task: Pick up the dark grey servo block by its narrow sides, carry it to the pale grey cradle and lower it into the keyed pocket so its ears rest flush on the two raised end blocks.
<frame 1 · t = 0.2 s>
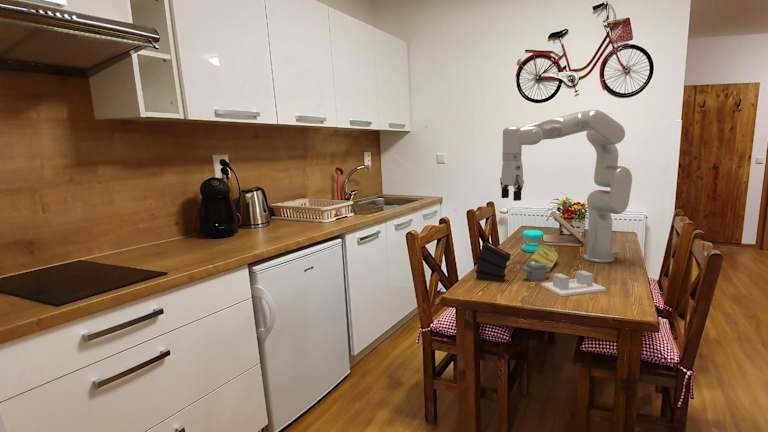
hand: (511, 199, 173), 31 cm above the table, tool pointing down, fingers open, 9 cm apart
case: (561, 242, 224), on the table
black ridged block: (493, 279, 166), on the table
cradle: (572, 288, 152), on the table
plastic component: (542, 266, 182), on the table
servo: (535, 279, 164), on the table
cyan spool: (532, 251, 207), on the table
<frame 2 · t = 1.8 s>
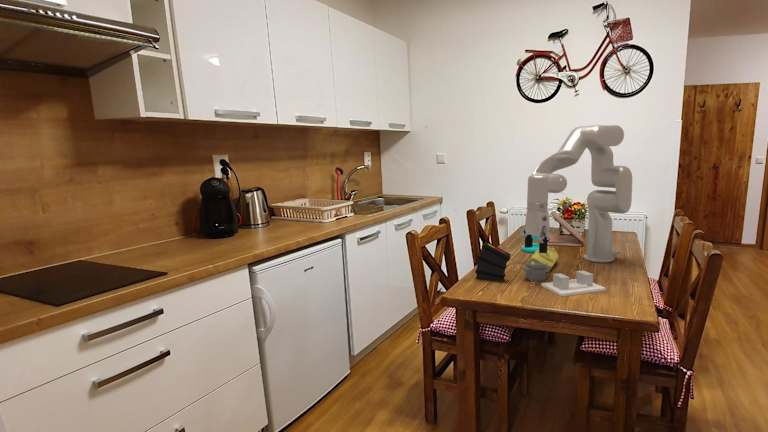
hand: (535, 250, 162), 12 cm above the table, tool pointing down, fingers open, 9 cm apart
nothing on the table moved.
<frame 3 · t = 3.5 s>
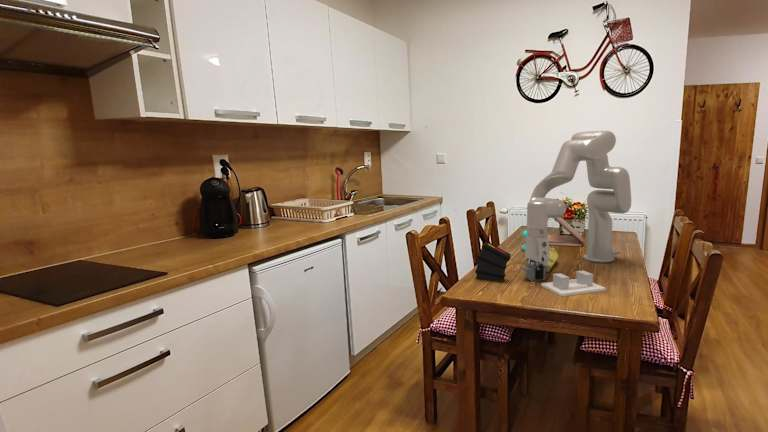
hand: (535, 276, 164), 1 cm above the table, tool pointing down, fingers closed on servo, 4 cm apart
servo: (535, 278, 164), on the table, touching gripper
everything else where it was.
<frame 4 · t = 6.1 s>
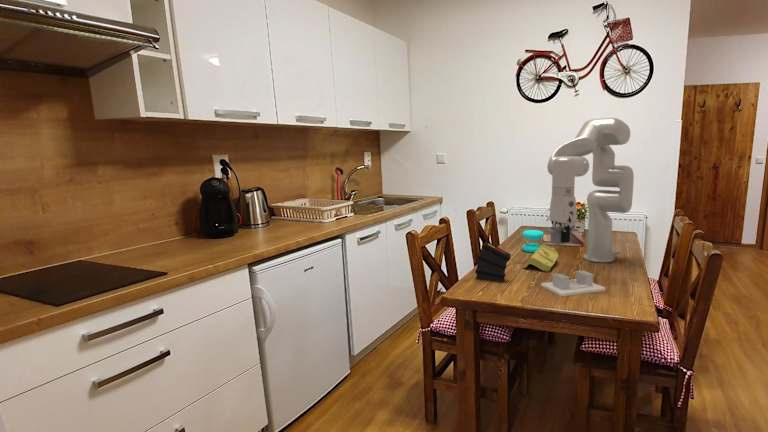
hand: (561, 240, 153), 17 cm above the table, tool pointing down, fingers closed on servo, 4 cm apart
servo: (561, 242, 154), point 16 cm above the table, touching gripper
everything else where it was.
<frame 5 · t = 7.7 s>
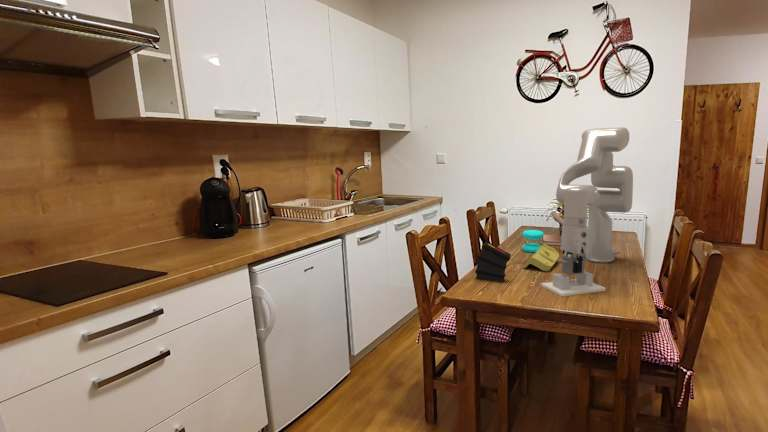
hand: (573, 270, 151), 7 cm above the table, tool pointing down, fingers closed on servo, 4 cm apart
servo: (572, 272, 151), point 6 cm above the table, touching gripper
everything else where it was.
when the fingers open (3 cm above the table, at t = 8.9 s): servo stays where it is, resting on cradle.
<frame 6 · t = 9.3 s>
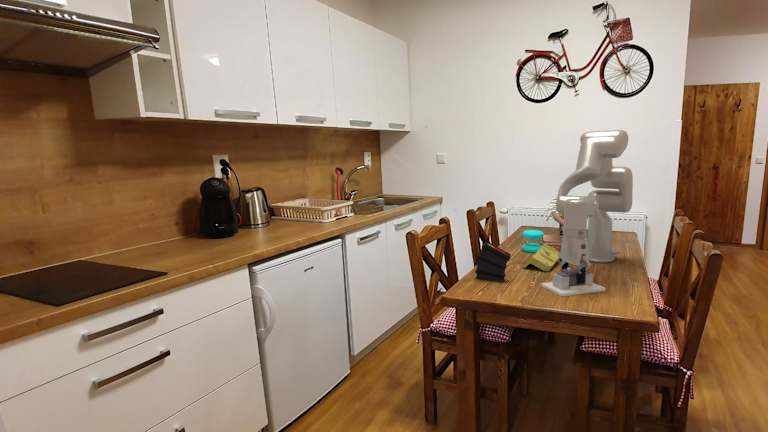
hand: (572, 279, 152), 3 cm above the table, tool pointing down, fingers open, 7 cm apart
servo: (572, 285, 152), point 1 cm above the table, touching cradle
everything else where it was.
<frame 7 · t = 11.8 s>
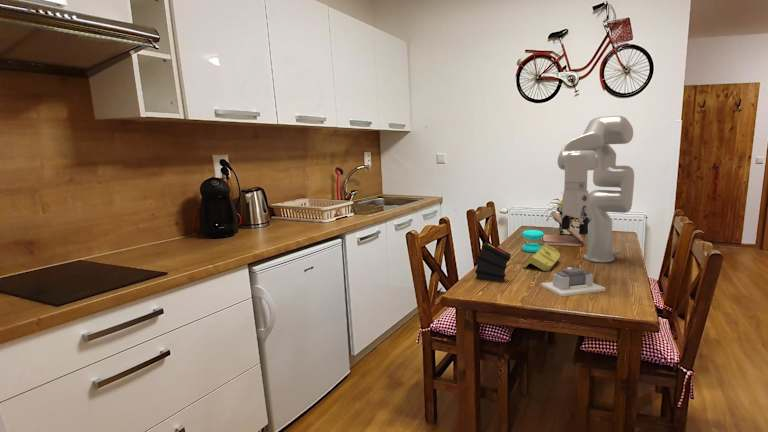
hand: (574, 231, 154), 20 cm above the table, tool pointing down, fingers open, 9 cm apart
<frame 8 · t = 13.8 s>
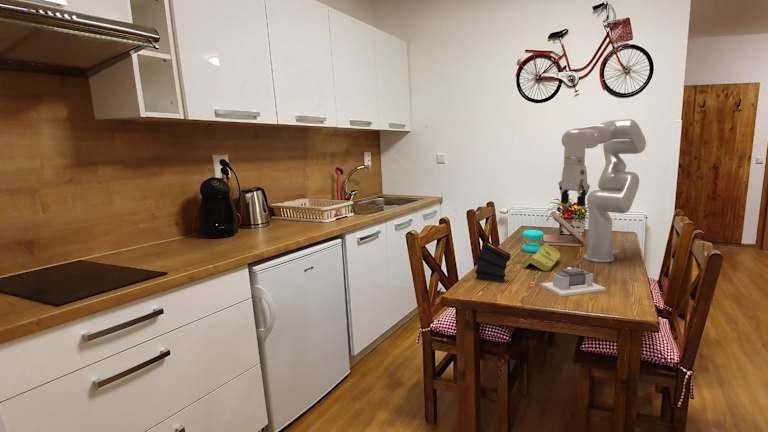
hand: (572, 204, 167), 28 cm above the table, tool pointing down, fingers open, 9 cm apart
at the end: servo 0.0 cm off-centre on the cradle, point 1.0 cm above the cradle's base; servo tilted 0°; the gripper is holding nothing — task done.
